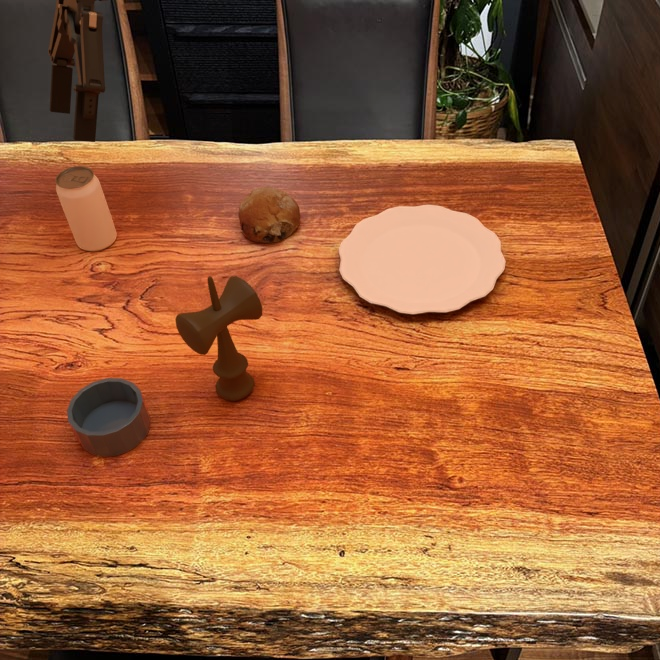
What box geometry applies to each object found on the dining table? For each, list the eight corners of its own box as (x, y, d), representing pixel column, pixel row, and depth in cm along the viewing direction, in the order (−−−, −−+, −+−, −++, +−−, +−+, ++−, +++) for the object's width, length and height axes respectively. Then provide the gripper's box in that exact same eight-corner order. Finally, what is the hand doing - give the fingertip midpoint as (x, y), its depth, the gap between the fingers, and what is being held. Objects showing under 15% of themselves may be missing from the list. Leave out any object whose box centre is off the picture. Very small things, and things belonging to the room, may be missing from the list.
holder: (63, 442, 102) (51, 420, 99) (107, 391, 108) (98, 369, 104) (122, 466, 99) (112, 445, 96) (164, 413, 105) (156, 391, 102)
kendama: (277, 379, 108) (258, 266, 93) (223, 421, 104) (193, 310, 89) (248, 358, 111) (224, 245, 96) (193, 398, 106) (160, 286, 91)
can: (87, 225, 131) (64, 162, 122) (124, 229, 130) (103, 166, 121) (69, 250, 127) (44, 187, 118) (107, 255, 126) (85, 191, 117)
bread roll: (306, 233, 134) (307, 185, 131) (290, 248, 125) (291, 197, 122) (249, 228, 136) (249, 180, 132) (229, 242, 126) (228, 191, 123)
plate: (438, 195, 134) (438, 186, 133) (537, 278, 120) (539, 268, 119) (309, 251, 126) (308, 241, 124) (399, 347, 112) (399, 337, 110)
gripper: (140, -16, 98) (124, 155, 107) (85, -46, 115) (76, 104, 125) (76, -29, 94) (65, 151, 103) (30, -58, 111) (24, 98, 120)
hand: (71, 126), depth 114 cm, fingers open, 13 cm apart
